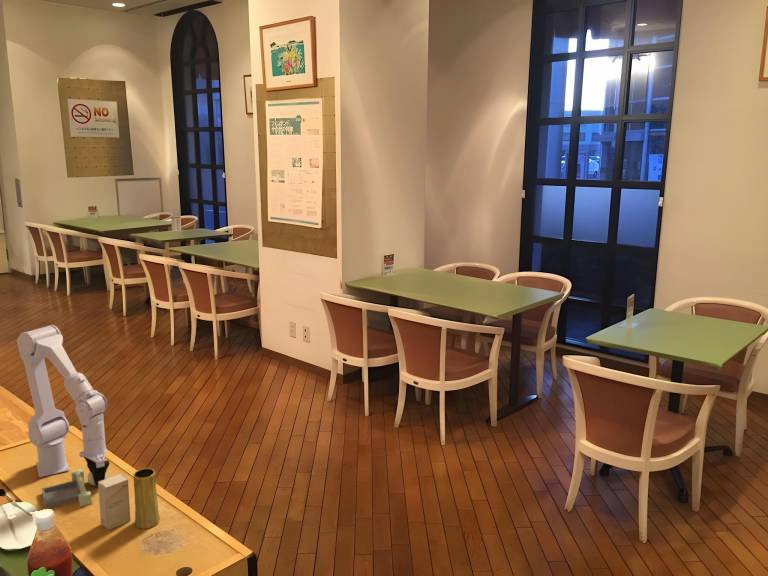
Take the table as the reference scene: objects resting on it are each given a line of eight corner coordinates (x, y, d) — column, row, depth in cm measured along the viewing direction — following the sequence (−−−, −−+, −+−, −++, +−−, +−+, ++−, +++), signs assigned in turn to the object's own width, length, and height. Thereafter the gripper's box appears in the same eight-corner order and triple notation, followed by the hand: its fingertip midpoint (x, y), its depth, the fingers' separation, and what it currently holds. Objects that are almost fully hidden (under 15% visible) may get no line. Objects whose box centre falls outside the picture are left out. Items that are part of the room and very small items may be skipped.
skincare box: (108, 531, 162) (104, 488, 160) (100, 523, 165) (96, 481, 162) (131, 520, 167) (128, 479, 164) (123, 513, 170) (120, 472, 167)
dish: (42, 493, 178) (41, 488, 178) (77, 485, 183) (77, 480, 183) (45, 509, 171) (45, 503, 170) (82, 500, 176) (81, 494, 175)
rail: (72, 480, 185) (71, 471, 184) (83, 478, 187) (82, 468, 186) (79, 506, 172) (79, 497, 172) (91, 503, 174) (91, 494, 173)
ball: (86, 482, 184) (85, 467, 183) (105, 478, 187) (104, 462, 186) (89, 490, 180) (88, 474, 179) (108, 486, 183) (107, 470, 182)
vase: (151, 530, 163) (148, 480, 160) (130, 527, 164) (126, 477, 161) (164, 517, 169) (161, 468, 166) (143, 514, 170) (140, 465, 167)
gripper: (73, 429, 184) (77, 472, 187) (83, 450, 172) (87, 495, 175) (99, 424, 188) (103, 465, 191) (110, 443, 176) (114, 487, 179)
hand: (97, 479), depth 183 cm, fingers open, 6 cm apart
